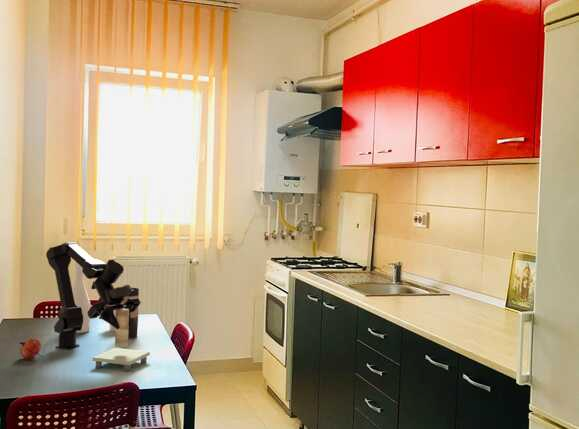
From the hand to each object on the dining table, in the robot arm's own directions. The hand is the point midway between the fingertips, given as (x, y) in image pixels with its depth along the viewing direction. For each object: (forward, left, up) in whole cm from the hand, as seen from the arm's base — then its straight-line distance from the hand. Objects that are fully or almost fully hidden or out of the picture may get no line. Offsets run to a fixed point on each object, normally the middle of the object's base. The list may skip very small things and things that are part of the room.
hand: (124, 327), depth 209 cm
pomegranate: (+4, -34, -14) cm, 37 cm away
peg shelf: (-1, -1, -13) cm, 13 cm away
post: (-1, -1, -7) cm, 7 cm away
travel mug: (-38, -20, -14) cm, 45 cm away
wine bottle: (-38, -44, -14) cm, 60 cm away
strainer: (-46, -32, -14) cm, 57 cm away
